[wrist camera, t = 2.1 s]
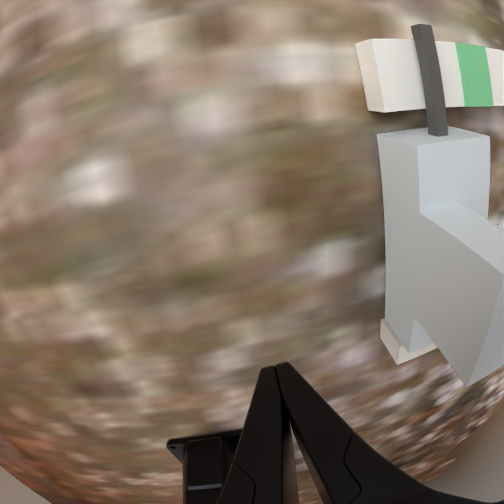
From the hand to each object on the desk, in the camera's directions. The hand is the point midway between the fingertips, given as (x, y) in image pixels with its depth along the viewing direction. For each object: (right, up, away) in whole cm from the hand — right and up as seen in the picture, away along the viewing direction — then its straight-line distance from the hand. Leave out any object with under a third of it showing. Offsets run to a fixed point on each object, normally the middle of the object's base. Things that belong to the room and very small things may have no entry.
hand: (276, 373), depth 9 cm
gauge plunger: (+7, +7, +4) cm, 10 cm away
